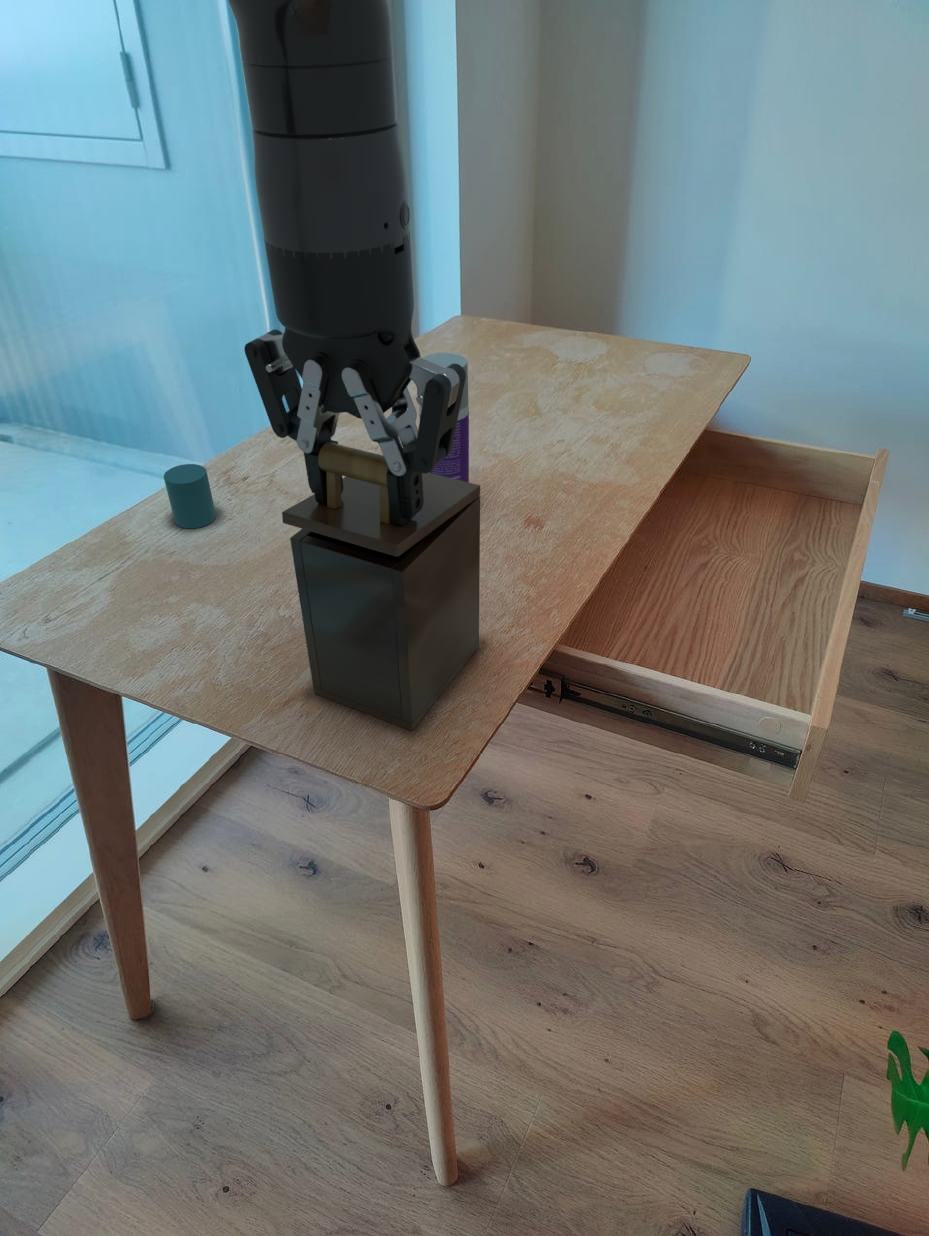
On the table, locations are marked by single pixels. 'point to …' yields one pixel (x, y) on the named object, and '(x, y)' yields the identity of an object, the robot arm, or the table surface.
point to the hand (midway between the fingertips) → (367, 507)
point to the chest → (390, 617)
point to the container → (459, 456)
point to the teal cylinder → (190, 495)
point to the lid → (374, 502)
